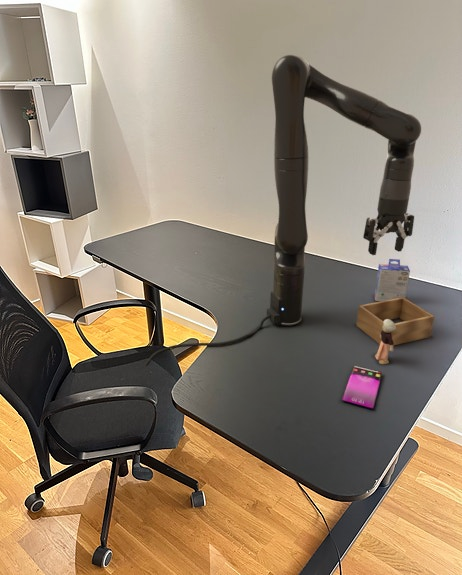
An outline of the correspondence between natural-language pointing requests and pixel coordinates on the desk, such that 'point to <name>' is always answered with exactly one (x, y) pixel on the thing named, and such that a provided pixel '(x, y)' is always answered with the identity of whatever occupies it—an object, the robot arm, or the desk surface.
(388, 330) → the grandmother figurine
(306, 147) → the robot arm
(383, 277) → the ink cartridge box
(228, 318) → the desk surface
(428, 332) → the birch box
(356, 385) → the smartphone
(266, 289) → the desk surface
